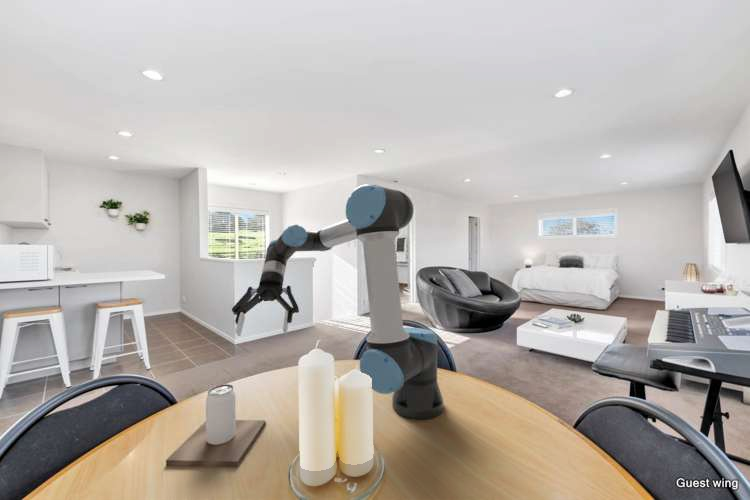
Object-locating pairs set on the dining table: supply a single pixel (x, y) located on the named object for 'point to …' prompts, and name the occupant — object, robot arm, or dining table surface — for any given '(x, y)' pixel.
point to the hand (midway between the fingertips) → (261, 332)
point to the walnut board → (217, 447)
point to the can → (220, 414)
